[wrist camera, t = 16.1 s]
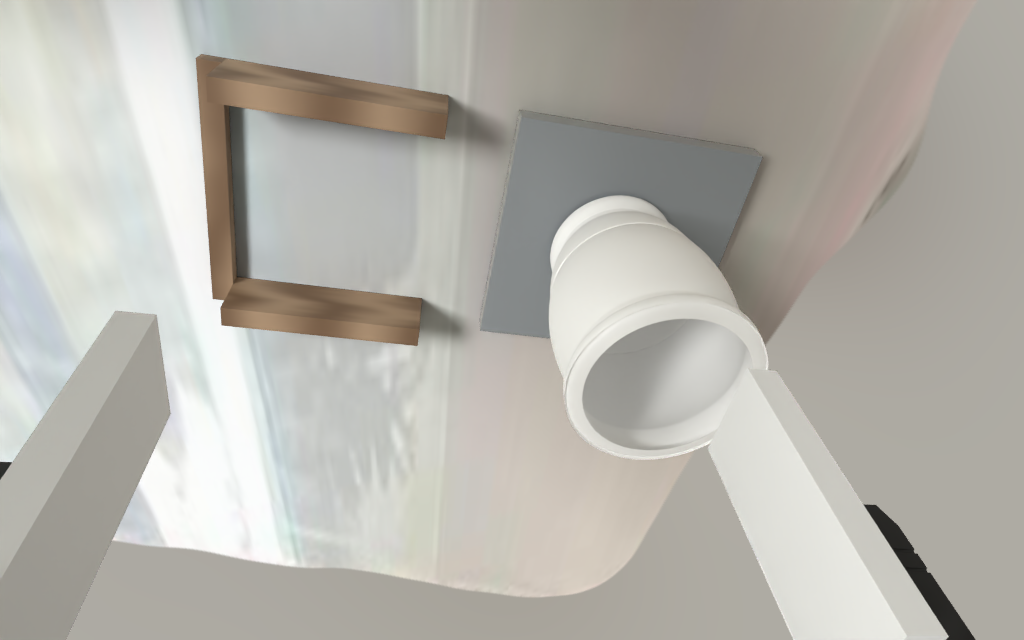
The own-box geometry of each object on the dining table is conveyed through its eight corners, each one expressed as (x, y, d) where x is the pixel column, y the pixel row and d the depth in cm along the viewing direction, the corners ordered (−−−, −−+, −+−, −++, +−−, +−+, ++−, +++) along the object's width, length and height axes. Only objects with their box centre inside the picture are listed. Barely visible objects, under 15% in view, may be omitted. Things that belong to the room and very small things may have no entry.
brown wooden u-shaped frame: (217, 291, 47) (199, 323, 44) (201, 54, 39) (177, 71, 35) (419, 314, 50) (417, 345, 46) (448, 95, 41) (448, 115, 38)
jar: (582, 335, 50) (625, 488, 38) (504, 236, 45) (524, 376, 33) (710, 261, 47) (801, 401, 35) (642, 146, 42) (721, 262, 30)
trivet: (479, 319, 50) (480, 330, 49) (519, 109, 42) (521, 117, 41) (678, 341, 53) (683, 353, 52) (754, 149, 44) (762, 157, 43)
